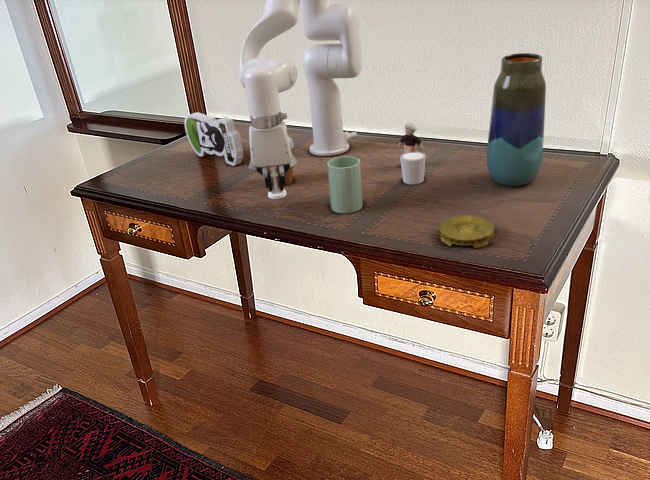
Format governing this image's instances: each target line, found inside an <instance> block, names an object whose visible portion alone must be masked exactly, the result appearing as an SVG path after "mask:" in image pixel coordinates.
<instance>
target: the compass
mask: <svg viewBox="0 0 650 480" xmlns="http://www.w3.org/2000/svg"><path fill="white" fill-rule="evenodd" d="M494 235H495V225H494V223H493V222H492V221H490V220H488V219H487V218H485V217H482V216H481V217H480V216H476V215H458V216H452V217H449V218H446V219H445V220H444V221H442V222H441V223H440V225H439V236H440V240H441V242H442V243H444V244H445V245H447V246H449V247H452V246H453V245H456V246H457V245H458V246H472V247H473V249H477V248H482V247H485V246H487V245H489V241H491V240H492V239H493V237H494Z"/></svg>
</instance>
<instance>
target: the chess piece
mask: <svg viewBox="0 0 650 480" xmlns="http://www.w3.org/2000/svg"><path fill="white" fill-rule="evenodd" d="M269 168H270V170H271V172H272V173H271V174H270V176H271V177H273V185H272V186H273V188H272V191H271V192H269V191H268V192H267V197H268V198H269V199H272V200H278V199H281V198H284V197H286V196H287V190H286V189H285V188H283V191H280V186H279V184H278V181H277V177H276V176H278V173H276V169H277V165H275V166H269Z"/></svg>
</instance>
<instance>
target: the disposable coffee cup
mask: <svg viewBox="0 0 650 480" xmlns="http://www.w3.org/2000/svg"><path fill="white" fill-rule="evenodd" d="M289 139H290V144H291V151H292V153H293V154H294V146H295V142H294V141H293V139H292V137H290V136H289ZM284 165H285V164H284ZM293 170H294V166H293V167H291V168H290V169H289V170H288V171H287V172H286V173H285V182H286V186H287V185H290V184H292V182H293V179H294V178H293V177H294V176H293V175H294V173H293V172H294V171H293ZM268 172H269V173H270V174H271V173H272V172H271V170H270V168H269V166H268ZM276 173H278V176H276V177H277V181H278V184H279V166H278V165H277V169H276ZM271 180H272V186H273V177H271ZM279 187H280V184H279Z"/></svg>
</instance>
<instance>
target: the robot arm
mask: <svg viewBox="0 0 650 480" xmlns="http://www.w3.org/2000/svg"><path fill="white" fill-rule="evenodd" d="M299 13H300V18H301V25H302V30H303V33H304V36H305V38H306V39H307V40H309V41H314V42H316V41H317V42H323V41H324V42H328V41H339V42H340V43H317V44H312V45H309V46H308V47H306V48H305V49H304V51H303V53H302V57H301V61H302V67H303V71H304V74H305V78H306V82H307V83H306V84H307V89H308V97H309V107H310V109H309V110H310V116H311V117H310V118H311V127H312V137H313V143H312V144H311V145H310V146H309V152H310V153H311V154H312V155H313V156H319V157H330V156H331V157H333V156H338V155H342V154H343V153H346V152H347V151H348V150H349V149H350V143H349V142H348V141H350V140H353V139H356V138H358V133H357V131H351V132H349V131H345V132H344V122H343V109H342V97H341V96H342V95H341V91H340V88H339V86H338V84H337V83H336V81H335V80H334V79H354V78H357V77H358V76H359V75H360V74H361V72H362V66H363V55H362V54H363V53H362V41H361V31H360V21H359V16H358V12H357V10H356V8H355V7H354V5H352V4H350V3H346V2H343V3H342V2H340V3H339V2H338V3H332V2H331V0H265V3H264V10H263V13H262V16H261V17H260V18H259V19H258V20H257V21H256V22H255V23H254V25H252V27H251V28H250V30H249V31H248V33H247V35H246V36H245V37H244V40H243V42H242V45H241V49H240V57H239V64H238V79H239V82H240V85H241V86H242V87H243V88H244V89H245V93H246V94H245V95H246V100H247V104H248V112H249V119H250V125H249V128H248V139H249V141H248V142H249V152H250V159H249V163H248V169H249V170H251V171H254V172H257V173H258V174H260V175H261V176H262V177H263V178H264V183H265V188H266V189H268V192H271V191H272V189H273V185H272V180H271V176H270V173H269V172H268V166H275V165H278V166H279V184H280V186H279V187H280V191H283V189H285V187H286V186H287V185H286V182H285V173H286V172H287V171H288V170H289V169H290V168H291V167H293V168H294V166H296V165H298V160H297V158H296V156H295V155H294V152H293V153H292V151H291V144H290V139H289V137H290V134H289V130H288V127H287V125H286V122H285V121H284V120H287V119H288V114H287V113H284V112H282V110H281V107H280V106H281V105H280V98H279V94H280V93H283V92H287V91H288V90H290V89H292V88H293V87H294V85H296V82H297V79H298V69H297V66H296V64H295V62H294V61H292V60H291V59H289V58H284V57H283V58H282V57H279V58H278V57H275V58H274V57H273V58H271V57H266V58H265V57H263V58H262V57H261V58H258V57H259V55H260V53H261V51H262V49H264V46H265V45H266V44H267V43H269V42H270V41H272V40H273V39H275V38H277V37H278V36H280V35H282V34H284V33H286V32H288V31H289V30H291V29H293V28H294V27H295V26H296V25H297V23H298V21H299ZM284 164H285V165H284Z"/></svg>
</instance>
